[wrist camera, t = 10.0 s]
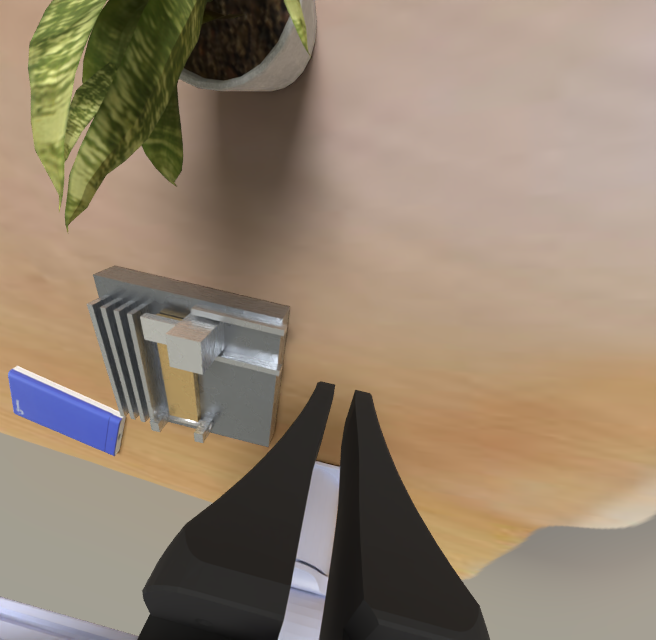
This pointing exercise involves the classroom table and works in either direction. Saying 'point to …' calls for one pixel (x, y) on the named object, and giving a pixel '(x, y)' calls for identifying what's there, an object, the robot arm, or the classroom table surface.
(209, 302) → the grey slotted fixture base
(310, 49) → the house plant
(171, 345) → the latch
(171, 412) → the tan rectangular plate
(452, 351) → the classroom table surface
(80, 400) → the hard drive
